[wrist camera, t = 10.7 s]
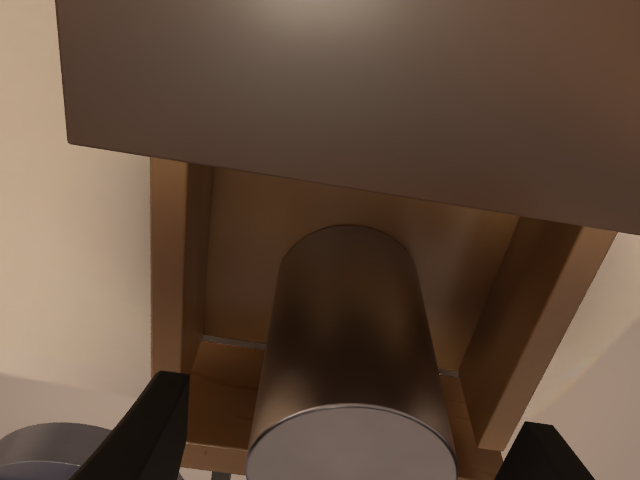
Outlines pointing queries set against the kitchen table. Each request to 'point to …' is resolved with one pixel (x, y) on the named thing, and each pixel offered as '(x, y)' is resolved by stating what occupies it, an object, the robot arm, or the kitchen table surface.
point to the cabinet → (374, 96)
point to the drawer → (435, 280)
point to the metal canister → (349, 368)
